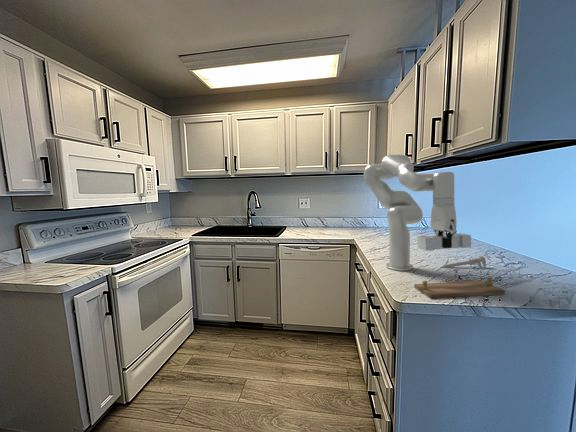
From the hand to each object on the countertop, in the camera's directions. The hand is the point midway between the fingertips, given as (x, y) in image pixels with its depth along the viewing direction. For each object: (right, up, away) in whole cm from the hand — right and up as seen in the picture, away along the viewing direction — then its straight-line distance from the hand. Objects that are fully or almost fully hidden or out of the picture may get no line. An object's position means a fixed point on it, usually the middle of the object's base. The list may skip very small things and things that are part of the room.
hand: (443, 246), depth 107 cm
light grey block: (0, -1, 0) cm, 1 cm away
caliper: (+23, -14, +22) cm, 34 cm away
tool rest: (+1, -16, -7) cm, 18 cm away
